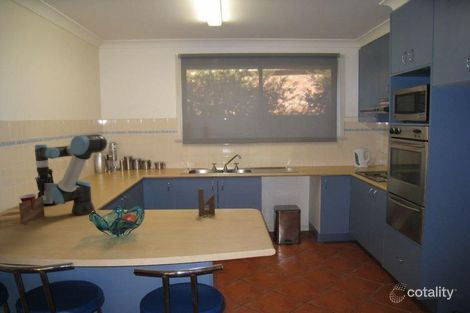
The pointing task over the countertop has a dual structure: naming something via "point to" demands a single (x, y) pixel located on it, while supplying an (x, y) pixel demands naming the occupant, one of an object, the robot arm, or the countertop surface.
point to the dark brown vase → (51, 182)
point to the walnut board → (30, 214)
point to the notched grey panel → (49, 192)
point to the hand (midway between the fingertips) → (45, 199)
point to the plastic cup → (28, 198)
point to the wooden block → (206, 203)
